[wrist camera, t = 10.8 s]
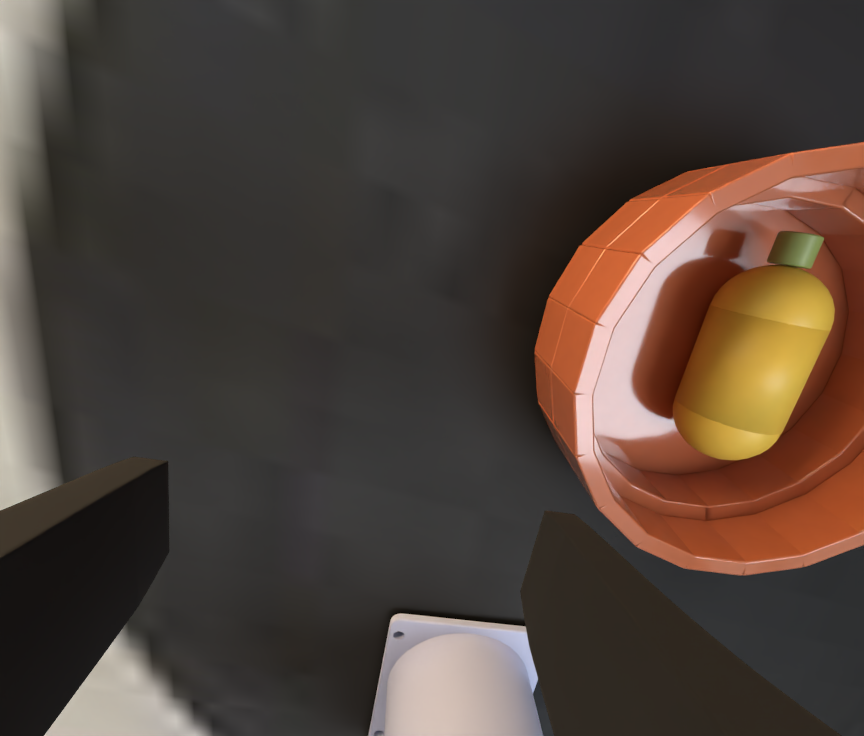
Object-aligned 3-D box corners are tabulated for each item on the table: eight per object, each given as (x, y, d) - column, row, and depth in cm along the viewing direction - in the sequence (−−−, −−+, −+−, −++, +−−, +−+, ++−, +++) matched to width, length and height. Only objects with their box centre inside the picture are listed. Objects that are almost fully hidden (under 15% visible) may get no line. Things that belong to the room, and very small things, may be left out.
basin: (776, 506, 20) (887, 594, 15) (498, 468, 19) (526, 550, 14) (927, 205, 16) (1141, 199, 11) (584, 132, 15) (663, 91, 10)
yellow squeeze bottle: (705, 432, 18) (785, 479, 15) (640, 430, 17) (713, 479, 14) (785, 238, 16) (899, 247, 13) (716, 222, 15) (823, 227, 12)
